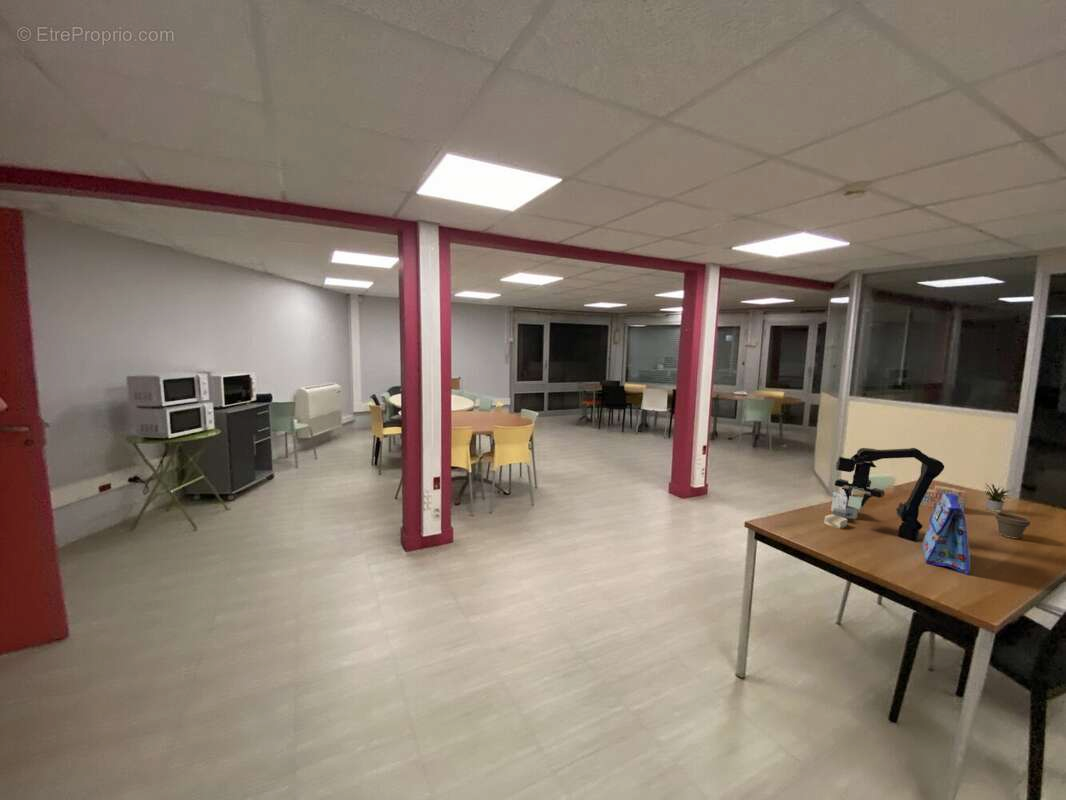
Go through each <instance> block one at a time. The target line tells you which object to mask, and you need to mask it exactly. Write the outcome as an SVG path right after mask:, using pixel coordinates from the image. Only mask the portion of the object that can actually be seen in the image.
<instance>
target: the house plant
mask: <svg viewBox="0 0 1066 800" xmlns="http://www.w3.org/2000/svg"><path fill="white" fill-rule="evenodd" d="M983 487H984V488H985V489H987V490H986V491H983V493H985V496H988V497H987V498H986V509H987V508H988V509H992V510H1001V511H1002V509H1003V506H1004V505H1005V503H1006V502H1005V500H1006V499H1008V498H1009V499H1010V498H1012V496H1011V495H1010V496H1008V495H1007V493H1008V492H1011V491H1014V490H1016V488H1015V489H1013V488H1012V489H1009V490H1007V489H1006V488H1005V486H1003V488H1002V486H999V487H998V488H996V486H995V484H993V483H991V487H992V488H991V487H990V486H989V485H988V484H985V485H983ZM1001 488H1002V489H1001ZM992 489H993V490H992ZM1000 489H1001V490H1000ZM1005 489H1006V490H1005ZM999 490H1000V492H999ZM1005 494H1006V495H1005Z"/></svg>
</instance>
